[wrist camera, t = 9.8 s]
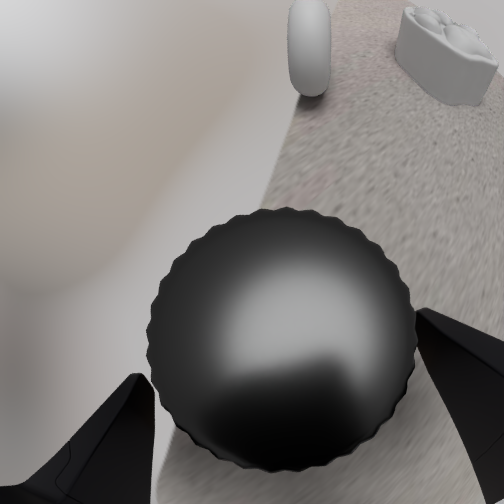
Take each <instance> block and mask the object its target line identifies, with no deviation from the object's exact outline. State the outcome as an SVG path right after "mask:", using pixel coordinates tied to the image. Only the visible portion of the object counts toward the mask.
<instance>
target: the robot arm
mask: <svg viewBox="0 0 504 504" xmlns="http://www.w3.org/2000/svg"><path fill="white" fill-rule="evenodd" d="M415 313H416V322H415V331H416V334H417V338H418V343H417V347H418V350H419V352H420V354H421V357H422V359H423V361H424V364H425V366H426V368H427V371H428V373H429V375H430V377H431V379H432V380H433V382H434V384H435V386H436V388H437V390H438V392H439V394H440V396H441V398H442V399H443V401H444V403H445V405H446V407H447V409H448V411H449V413H450V416H451V418H452V420H453V422H454V424H455V426H456V428H457V430H458V433H459V435H460V437H461V439H462V441H463V444H464V446H465V448H466V451H467V453H468V455H469V458H470V460H471V463H472V466H473V468H474V471H475V473H476V476H477V479H478V482H479V484H480V487H481V490H482V493H483V496H484V499H485V502H486V504H495V503H497V502H498V501H500V500H502V499H504V341H502V340H499V339H497V338H495V337H493V336H490V335H488V334H486V333H484V332H481V331H479V330H477V329H475V328H472V327H470V326H468V325H466V324H463V323H461V322H459V321H456V320H454V319H452V318H450V317H447V316H445V315H443V314H440V313H438V312H436V311H433V310H431V309H429V308H422V309H419V310H417V311H415ZM154 436H155V392H154V389H153V387H152V386H151V384H150V383H149V381H148V380H147V379H146V377H145V376H144V375H143V374H142V373H132V374H130V375H129V376H128V377H127V378H126V379H125V381H123V382H122V383H121V385H120V386H119V387H118V388H117V389H116V390H115V391H114V392H113V393H112V394H111V395H110V397H108V399H107V400H106V401H105V402H104V403H103V404H102V405H101V406H100V407H99V409H97V410H96V412H95V413H94V414H93V415H92V416H91V417H90V418H89V419H88V420H87V421H86V422H85V423H84V424H83V426H82V427H81V428H80V429H79V430H78V431H77V432H76V433H75V434H74V435H73V436H72V437H71V439H70V441H68V442H67V443H66V444H65V445H64V446H63V447H62V448H61V449H60V450H59V451H58V452H57V453H56V454H55V455H54V456H53V457H52V458H51V459H50V460H49V461H48V462H47V463H46V464H45V465H44V466H42V467H41V468H40V469H39V470H38V471H37V472H36V473H35V474H33V475H32V476H31V477H30V478H29V479H28V480H26V481H25V482H23V483H21V484H18V485H12V486H0V504H150V496H151V495H150V494H151V475H152V460H153V447H154Z"/></svg>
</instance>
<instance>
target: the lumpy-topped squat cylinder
mask: <svg viewBox="0 0 504 504" xmlns="http://www.w3.org/2000/svg"><path fill="white" fill-rule="evenodd" d="M395 58H396V61H397V63H398V64H399V65H400V66H401V67H402V69H403V70H404V71H405V72H406V73H407V74H408V75H409V76H410V77H411V78H412V79H413V80H414V81H415V82H416V83H417V84H418V85H419V86H420V87H421V88H422V89H423V90H424V91H426V92H427V93H428V94H429V95H431V96H432V97H433V98H435V99H437V100H438V101H440V102H442V103H444V104H447V105H451V106H455V105H461V104H465V105H470V106H478V105H479V104H480V102H481V100H482V98H483V96H484V94H485V92H486V90H487V89H488V87H489V85H490V83H491V81H492V79H493V77H494V75H495V73H496V70H497V68H498V66H499V64H498V61H497V59H496V58H495V57H494V56H493V54H492V53H490V51H489V49H488V48H487V46H486V45H485V44H484V43H483V42H482V41H481V40H480V39H479V36H478V34H477V32H476V31H475V30H474V29H473V28H471V27H470V26H467V25H463V24H462V25H461V24H460V25H458V24H457V23H453V21H452V19H451V18H450V16H449V15H447V14H446V13H445V12H442V11H440V10H430V9H429V8H426V7H418V8H417V7H415V6H414V7H407V8H405V9H404V10H403V14H402V19H401V25H400V30H399V34H398V39H397V44H396V48H395Z"/></svg>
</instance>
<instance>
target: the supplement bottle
mask: <svg viewBox="0 0 504 504" xmlns="http://www.w3.org/2000/svg"><path fill="white" fill-rule="evenodd" d="M415 322H416V313H415V311H414V308H413V307H412V306H411V304H410V292H409V288H408V287H407V285H406V284H405V283H404V282H403V281H402V280H401V279H400V276H399V270H398V268H397V265H395V264H394V263H393V262H392V261H390V260H389V259H387V258H386V256H385V255H384V252H383V250H382V248H381V247H380V246H379V245H378V244H376V243H374V242H372V241H369V240H368V239H367V238H366V236H365V235H364V234H363V232H362V231H361V230H360V229H357V228H354V227H349V226H346V225H345V224H344V223H343V222H342V221H341V220H340V219H339V218H337V217H330V216H322V215H320V214H319V213H318V212H316V211H314V210H303V211H297V210H295V209H293V208H289V207H284V208H280V209H277V210H274V211H273V210H268V209H259V210H257V211H255V212H253V213H251V214H250V215H236V216H234V217H233V218H232V219H230V220H229V221H228V222H227V223H225V224H222V225H216V226H213V227H212V228H211V229H210V230H209V231H208V232H207V233H206V234H205V236H203V237H202V238H199V239H196V240H194V241H192V242H191V243H190V245H189V247H188V249H187V250H186V252H185V253H184V254H182V255H180V256H179V257H178V258H176V259H175V260H174V262H173V264H172V266H171V270H170V272H169V274H168V275H167V276H165V277H164V278H163V279H162V280H161V281H160V286H159V293H158V295H157V297H156V298H155V300H154V301H153V303H152V304H151V321H150V323H149V324H148V327H147V329H146V333H147V338H148V342H149V346H148V349H147V354H146V357H147V360H148V362H149V364H150V366H151V382H152V384H153V385H154V387H155V388H156V389H157V391H158V392H159V398H160V402H161V405H162V406H163V407H164V409H165V410H167V411H168V412H169V413H170V414H171V415H172V418H173V421H174V423H175V425H176V427H178V428H179V429H181V430H182V431H184V432H186V433H187V434H188V435H189V436H190V438H191V439H192V441H193V442H194V443H195V445H197V446H199V447H202V448H205V449H208V450H209V451H210V452H211V453H212V454H213V455H214V456H215V457H216V458H218V459H220V460H224V461H230V462H233V463H235V464H236V465H238V466H239V467H241V468H243V469H260V470H262V471H265V472H268V473H276V472H280V471H284V470H286V471H291V472H301V471H303V470H306V469H307V468H309V467H317V466H326V465H328V464H329V463H331V462H332V461H333V460H335V459H336V458H338V457H342V456H346V455H349V454H352V453H353V452H354V451H355V450H356V449H357V447H358V446H359V445H360V444H361V443H364V442H366V441H368V440H370V439H372V438H374V436H375V435H376V433H377V432H378V430H379V428H380V426H381V425H382V424H384V423H385V422H387V421H388V420H389V419H390V418H391V417H392V416H393V414H394V411H395V407H396V405H397V403H398V402H399V401H400V400H401V399H402V398H403V396H404V395H405V394H406V391H407V382H408V379H409V377H410V376H411V374H412V372H413V370H414V368H415V360H414V352H415V350H416V347H417V343H418V338H417V334H416V331H415Z"/></svg>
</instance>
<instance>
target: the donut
mask: <svg viewBox="0 0 504 504" xmlns="http://www.w3.org/2000/svg"><path fill="white" fill-rule="evenodd" d="M287 33H288V34H287V40H288V41H287V42H288V43H287V44H288V64H289V73H290V80H291V83H292V85H293V86H294V88H295V89H296V90H297V91H298V92H299V93H301V94H302V95H305V96H309V97H311V96H317V95H320V94H322V93H323V92H324V91H325V90H326V88H327V87H328V84H329V79H330V68H331V16H330V11H329V8H328V6H327V4H326V3H325V2H324V1H323V0H295V1H294V2H293V3H292V5H291V7H290V9H289V15H288V31H287Z"/></svg>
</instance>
